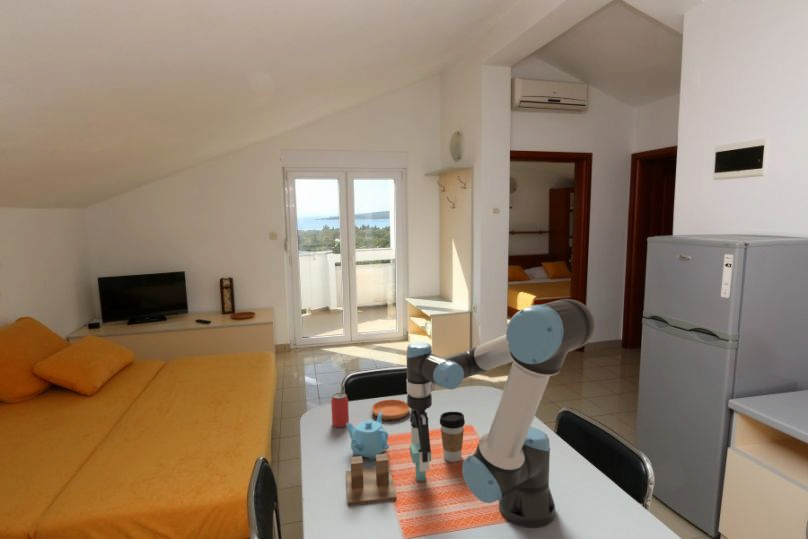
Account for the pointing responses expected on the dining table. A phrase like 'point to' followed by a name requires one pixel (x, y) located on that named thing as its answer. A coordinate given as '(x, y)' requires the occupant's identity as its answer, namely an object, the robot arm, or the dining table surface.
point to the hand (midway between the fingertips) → (419, 458)
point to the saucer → (391, 409)
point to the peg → (418, 461)
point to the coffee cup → (452, 435)
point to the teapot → (368, 438)
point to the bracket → (370, 482)
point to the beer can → (340, 410)
